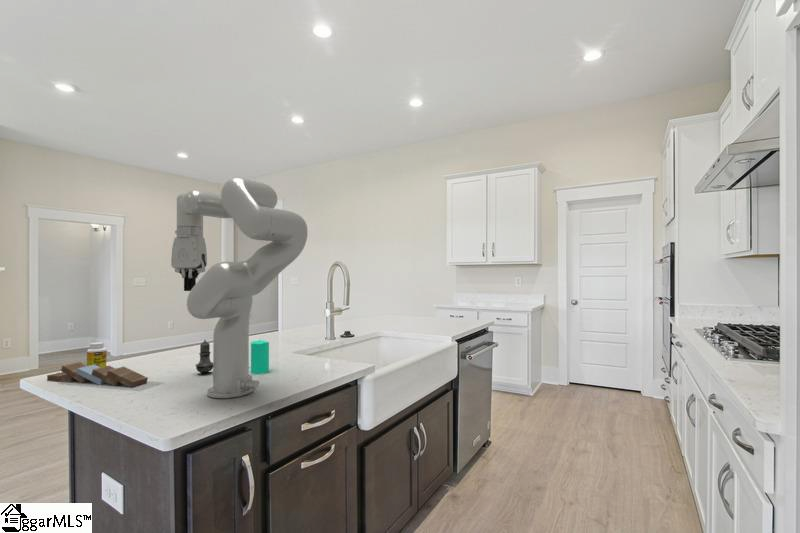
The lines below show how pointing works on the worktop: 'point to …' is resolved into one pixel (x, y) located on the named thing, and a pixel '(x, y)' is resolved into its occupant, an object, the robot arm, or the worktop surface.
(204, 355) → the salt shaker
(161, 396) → the worktop surface
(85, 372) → the slate tile
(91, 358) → the supplement bottle
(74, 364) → the tile
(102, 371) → the tile
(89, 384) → the mat
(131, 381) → the tile
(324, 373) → the worktop surface
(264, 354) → the candle
